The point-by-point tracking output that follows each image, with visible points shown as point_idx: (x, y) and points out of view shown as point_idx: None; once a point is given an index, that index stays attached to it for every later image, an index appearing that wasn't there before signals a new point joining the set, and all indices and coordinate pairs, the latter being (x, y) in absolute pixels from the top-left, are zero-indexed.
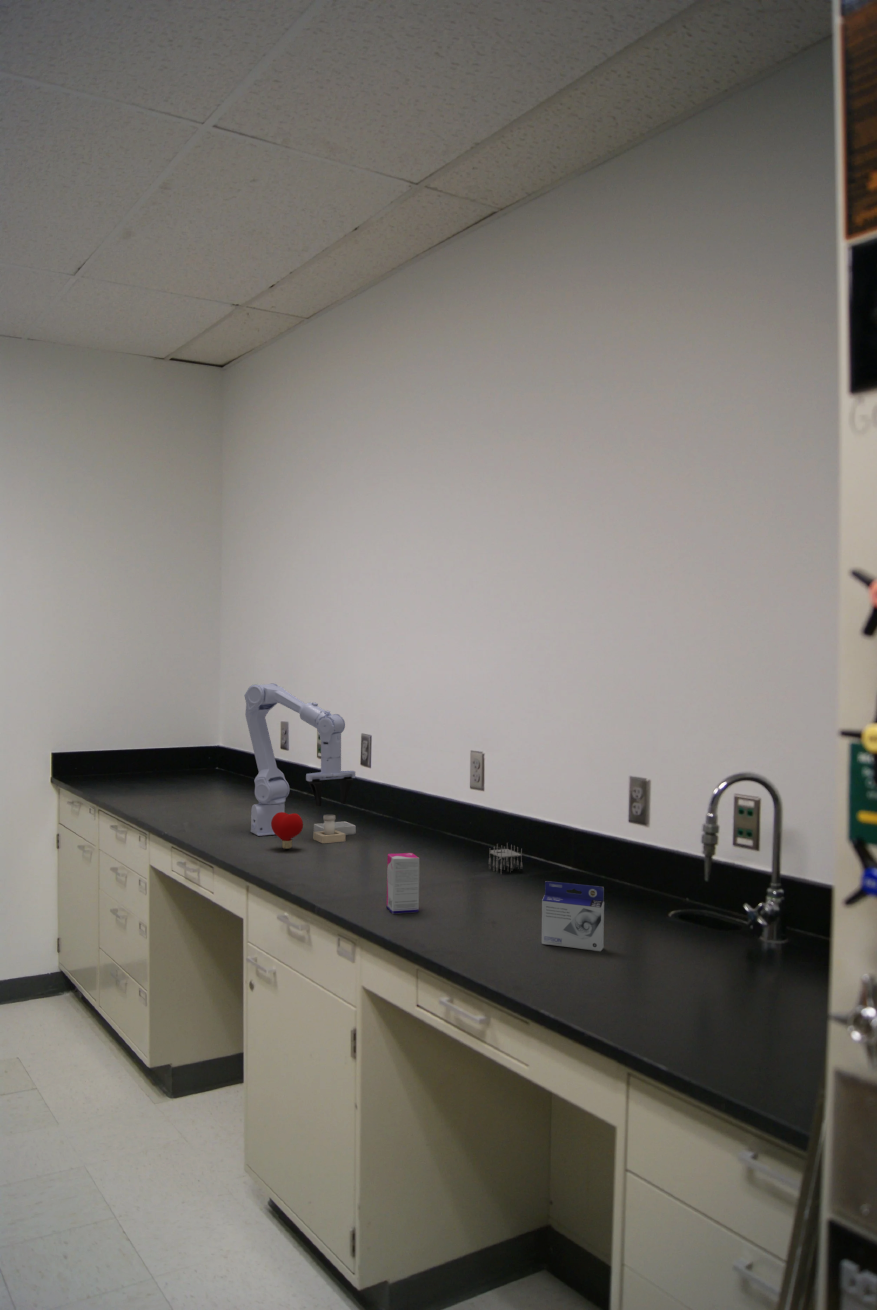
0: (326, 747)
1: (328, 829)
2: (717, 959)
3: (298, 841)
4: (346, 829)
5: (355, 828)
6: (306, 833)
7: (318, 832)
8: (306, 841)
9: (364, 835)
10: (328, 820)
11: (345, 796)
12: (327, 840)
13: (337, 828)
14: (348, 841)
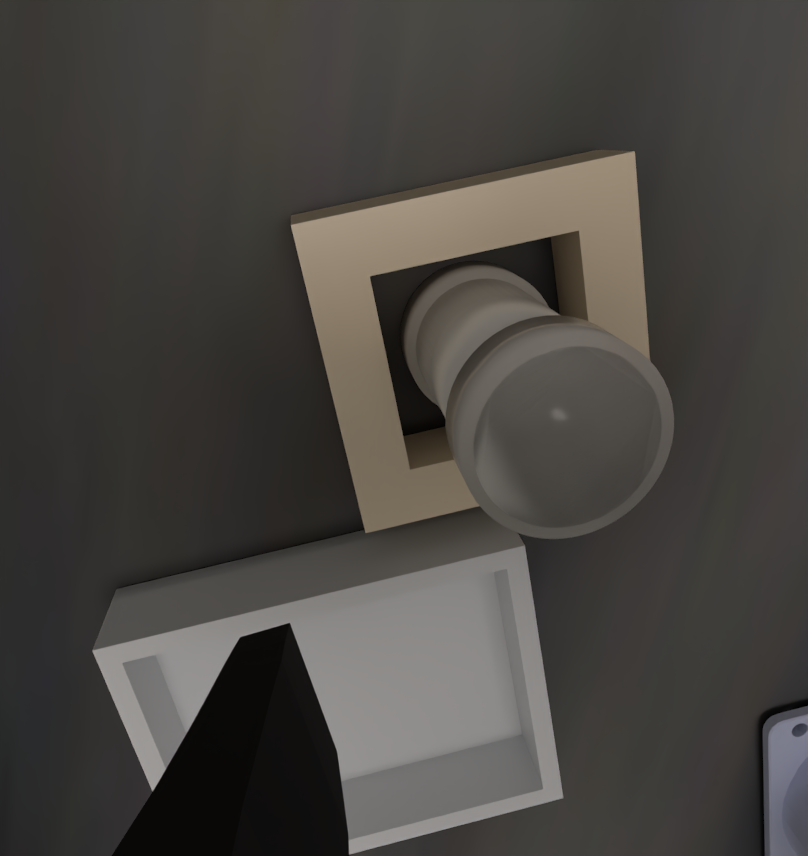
0: None
1: (536, 300)
2: None
3: (800, 351)
4: (223, 597)
5: (102, 630)
6: (609, 708)
7: None
8: (724, 330)
9: (10, 514)
10: (587, 322)
11: (233, 742)
12: (540, 163)
13: (341, 582)
14: (252, 197)
